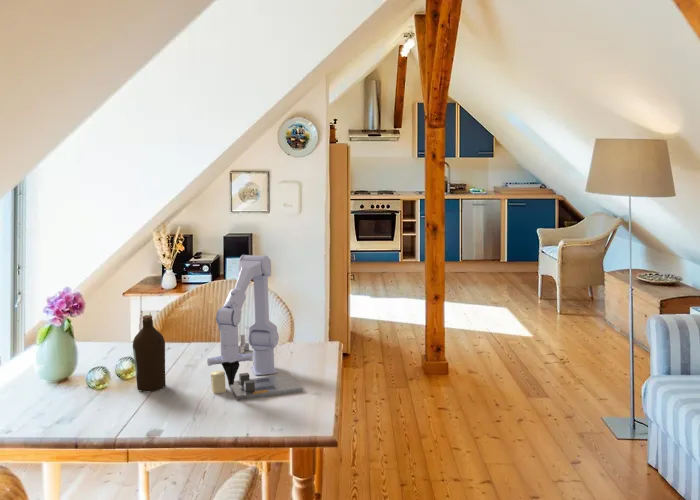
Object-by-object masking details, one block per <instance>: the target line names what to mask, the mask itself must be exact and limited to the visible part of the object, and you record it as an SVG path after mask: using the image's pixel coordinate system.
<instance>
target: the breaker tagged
mask: <svg viewBox="0 0 700 500" xmlns="http://www.w3.org/2000/svg"><path fill="white" fill-rule="evenodd" d="M244 390H245V391H246V392H247V391H254V390H255V383H254V381H253V380H248V381H244Z"/></svg>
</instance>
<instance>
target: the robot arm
mask: <svg viewBox="0 0 700 500" xmlns="http://www.w3.org/2000/svg"><path fill="white" fill-rule="evenodd" d="M238 271H239V273H238V277H237V280H236V282H235V286H234V288H233V289H230V290H229V292H228V295H227V297H226V299H225V301H224V303H223V305H222V307H220V308H219V309H217V311H216V314H215V315H216V316H215V321H216V322H215V323H216V324H217V329H218V331H219V337H220V338H219V339H220V340H219V341H220V342H219V343H220V355H218V356H215V357H208V358H207V359H206V360H207V362H206V364H207V366H212V365H214V366H215V365H221V366H222V368H223V369H224V370H223V371H224V372H225V376H226V378H227V384H229V385H234V381H235V378H236V374H237V373H238V370H239V368H240V362H248V361H249V362H252V366H250V369H251V371H253V373H254V375H255V376H264V375H272V374H278V370H277V369H276V367H275V349H274V348H276V347H277V346H278V343H279V340H280V339H279V337H280V336H279V334H278V327H277V325H276V324H275V323H273V322H272V321H271V320H270V309H269V308H270V307H269V305H270V304H269V284H268V283H269V280H268V278H269V277H271V276H272V261H271V259H270V258H269V256H268V255H253V254H252V255H251V254H250V255H249V254H241V256H240V257H239V259H238ZM252 280H253V295H254V296H253V297H254V298H253V300H254V301H253V302H254V320H255V321H254V322H253V323H252V324H251V325H249V327H248V335H247V341H248V342H247V343H249V346H251V349H253V350H252V353H239V348H238V346H239V324H240V322H241V320H242V319H241V318H242V311H243V310H242V308H243V306H244V304H245V300H246V298H247V295H246V293H245V292H247V291H246V290H247V288H248V287H249V285H250V284H251V282H252ZM229 385H228V386H229Z"/></svg>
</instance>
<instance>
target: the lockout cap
mask: <svg viewBox="0 0 700 500" xmlns="http://www.w3.org/2000/svg"><path fill="white" fill-rule="evenodd" d="M210 380H211V381H210V382H211V391H212V393H213V394H219V393H222V394H223V393H226V389H227V388H226V373H225V370H214V371H211V372H210Z"/></svg>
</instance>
